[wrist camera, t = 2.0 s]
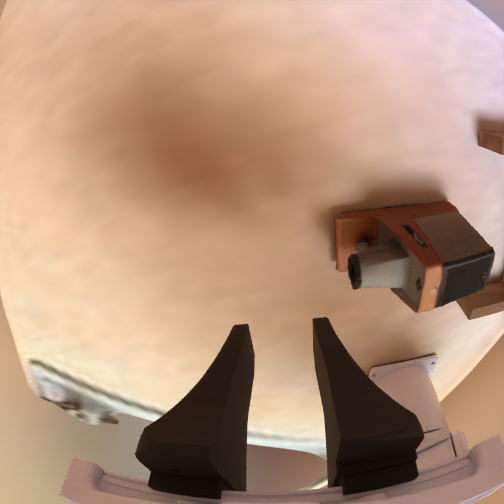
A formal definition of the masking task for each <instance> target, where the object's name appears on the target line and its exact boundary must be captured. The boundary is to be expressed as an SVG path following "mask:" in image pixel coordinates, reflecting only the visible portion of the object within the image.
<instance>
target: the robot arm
mask: <svg viewBox="0 0 504 504" xmlns="http://www.w3.org/2000/svg"><path fill="white" fill-rule="evenodd" d="M313 351H314V361H315V370H316V375H317V380H318V385H319V390H320V395H321V400H322V405H323V411H324V420H325V433H326V449H327V471H328V488H323V489H313V490H301V491H281V492H246V449H247V422H248V412H249V406H250V399H251V392H252V386H253V379H254V356H255V354H254V350H253V345H252V340H251V336H250V331H249V326H248V324H242V325H234V326H233V328H232V330H231V332H230V334H229V336H228V338H227V340H226V342H225V343H224V345H223V347H222V349H221V350H220V352H219V354H218V355H217V357H216V358H215V360H214V361H213V363H212V364H211V366H210V367H209V369H208V370H207V371H206V373H205V374H204V375H203V377H202V378H201V379H200V381H199V382H198V383H197V384H196V385H195V386H194V388H193V389H192V390H191V391H190V392H189V393H188V394H187V395H186V396H185V397H184V398H183V399H182V400H181V401H180V402H179V403H178V404H176V405H175V406H174V407H173V408H172V409H171V410H169V411H168V412H167V413H166V414H164V415H163V416H162V417H160V418H159V419H158V420H156V421H155V422H153V423H152V424H150V425H149V426H147V427H146V428H144V431H143V433H142V435H141V437H140V440H139V443H138V446H137V450H136V453H135V455H136V458H137V459H138V460H139V461H140V462H141V463H142V464H143V465H144V466H145V467H147V468H148V469H149V470H150V471H151V474H150V478H149V481H147V480H143V479H139V478H134V477H129V476H125V475H122V474H118V473H114V472H110V471H107V470H103V468H101V467H100V466H99V465H98V464H96V463H94V462H91V461H89V460H86V459H83V458H79V457H77V456H74V457H73V459H72V461H71V464H70V467H69V469H68V472H67V475H66V477H65V480H64V483H63V486H62V489H61V491H60V494H59V495H60V497H62V498H64V499H65V500H68V501H69V502H71V503H73V504H341V503H346V504H472V503H474V502H476V501H478V500H480V499H482V498H484V497H486V496H488V495H490V494H491V493H493V492H494V491H496V490H497V489H499V488H500V487H502V486H503V485H504V445H503V442H502V440H501V437H500V435H499V434H497V435H495V436H493V437H491V438H489V439H486V440H484V441H482V442H480V443H478V444H477V445H475V446H474V447H473V448H472V449H471V450H470V449H469V446H468V444H467V441H466V439H465V436H464V434H463V432H458V430H455V431H454V432H452V433H451V432H450V430H449V429H448V426H447V423H446V420H445V417H444V414H443V411H442V408H441V405H440V403H439V400H438V397H437V395H436V392H435V389H434V387H433V384H432V382H431V379H430V377H431V374H432V372H433V370H434V367H435V365H436V362H437V360H438V357H437V355H432V356H428V357H424V358H419V359H415V360H410V361H405V362H400V363H395V364H389V365H384V366H378V367H373V368H372V369H371V370H370V373H369V377H368V376H367V375H366V374H365V373H364V372H363V371H362V369H361V368H360V367H359V366H358V365H357V363H356V362H355V361H354V360H353V358H352V357H351V356H350V354H349V353H348V352H347V350H346V349H345V347H344V346H343V344H342V343H341V341H340V340H339V338H338V336H337V335H336V333H335V331H334V329H333V327H332V325H331V323H330V321H329V319H328V318H327V317H323V318H314V319H313Z"/></svg>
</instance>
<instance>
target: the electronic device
mask: <svg viewBox="0 0 504 504" xmlns="http://www.w3.org/2000/svg"><path fill="white" fill-rule="evenodd" d="M334 221H335V225H336V253H337V263H336V270H338V271H339V272H347V271H348V273H349V278H350V280H351V284H352V288H353V289H354V290H356V289H358V288H369V287H385V288H391V290H392V291H393V292H394V293H395V294H396V295H397V296H398V297H399V298H400V299H401V300H402V301H403V302H404V303H405V304H407V305H408V307H410V308H411V309H412V310H413V311H414V312H415V313H421V312H423V311H430V310H432V309H433V308H437V307H441V306H444V305H445V304H448V303H450V302H453V301H455V300H457V299H459V298H463V297H466V296H468V295H470V294H473V293H477V292H478V291H481V290H484V289H485V288H486V285H487V282H488V278H489V275H490V271H491V268H492V265H493V261H494V256H495V252H494V249H493V247H491V246H490V245H489V244H488V243H487V242H486V241H485V240H484V238H483V237H482V236H481V235H480V234H479V233H478V232H477V231H476V230H475V229H474V228H473V227H472V226H471V225H470V224H469V222H468V221H467V220H466V219H465V218H464V217H463V216H462V215H461V214H460V213H459V211H458V210H457V208H456V207H455V206H453V205H452V204H451V203H450V202H446V201H444V202H439V203H431V204H412V205H402V206H395V207H386V208H382V209H375V210H369V209H367V210H360V211H353V212H341V214H340V215H336V216H335V218H334Z"/></svg>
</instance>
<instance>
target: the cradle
mask: <svg viewBox="0 0 504 504" xmlns="http://www.w3.org/2000/svg"><path fill="white" fill-rule="evenodd" d="M479 146H481V147H484V148H486V149H489V150H492V151H494V152H497V153H499V154H501V155H504V133H499V132H491V131H482V130H479ZM456 301H457V303H458V304H459V306H460V307H461V309H462V310H463V312H464V313H465V315H466V316H467V318H468V319H469V320H471V319H475V318H479V317H483V316H487V315H490V314H494V313H497V312H501V311H504V270H503V274H502V277H501V281H497V282H492V283H487V285H486V288H485V289H484V290H481V291H478V292H477V293H473V294H470V295H468V296H466V297H463V298H459V299H457V300H456Z"/></svg>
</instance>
